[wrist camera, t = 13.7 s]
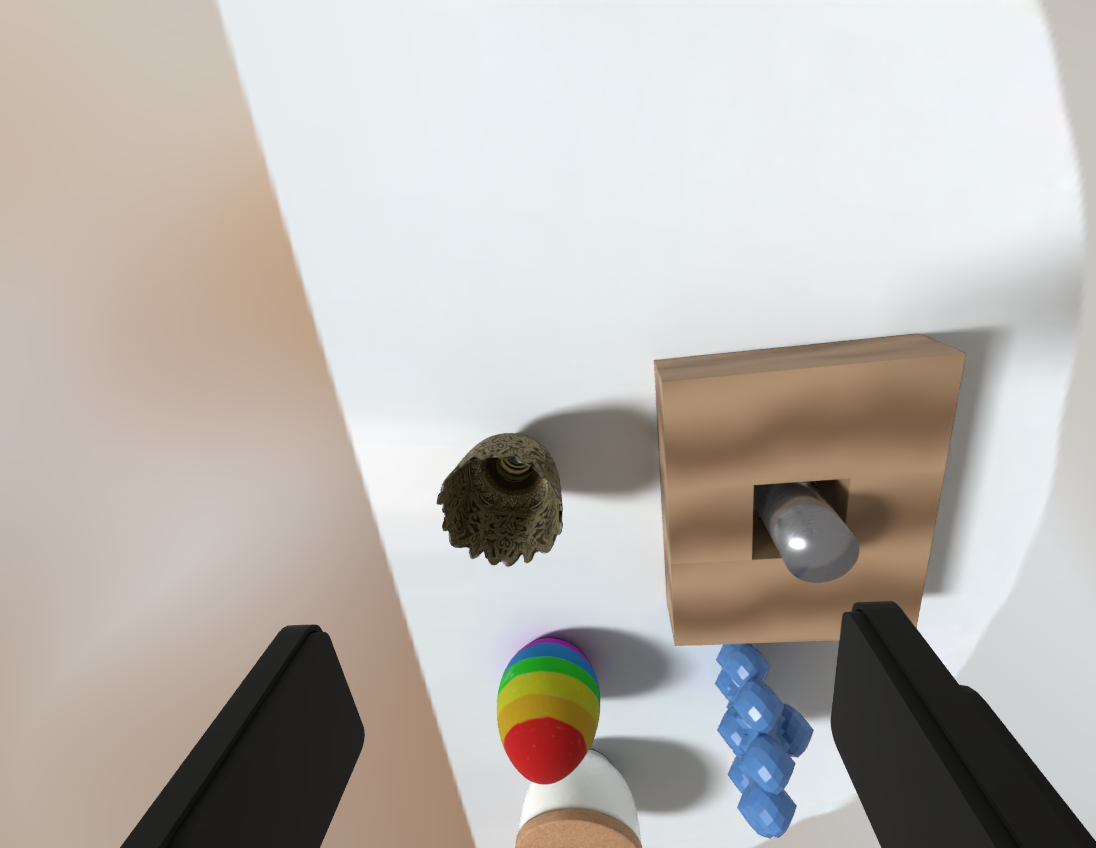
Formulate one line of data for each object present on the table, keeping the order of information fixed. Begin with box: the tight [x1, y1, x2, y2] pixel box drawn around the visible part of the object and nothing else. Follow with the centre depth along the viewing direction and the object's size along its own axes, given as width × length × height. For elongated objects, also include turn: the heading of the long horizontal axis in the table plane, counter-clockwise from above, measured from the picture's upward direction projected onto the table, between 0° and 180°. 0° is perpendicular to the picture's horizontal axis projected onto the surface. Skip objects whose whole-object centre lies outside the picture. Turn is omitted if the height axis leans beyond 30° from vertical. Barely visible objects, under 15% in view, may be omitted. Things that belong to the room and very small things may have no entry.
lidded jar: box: [515, 749, 642, 848], centre depth 46 cm, size 11×11×9 cm
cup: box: [437, 433, 563, 567], centre depth 34 cm, size 8×7×8 cm
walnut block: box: [654, 334, 966, 646], centre depth 35 cm, size 20×16×4 cm
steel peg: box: [753, 481, 859, 583], centre depth 33 cm, size 4×4×8 cm
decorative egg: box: [497, 638, 600, 785], centre depth 40 cm, size 8×8×10 cm
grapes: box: [715, 643, 813, 838], centre depth 38 cm, size 12×7×12 cm, turn 6°
